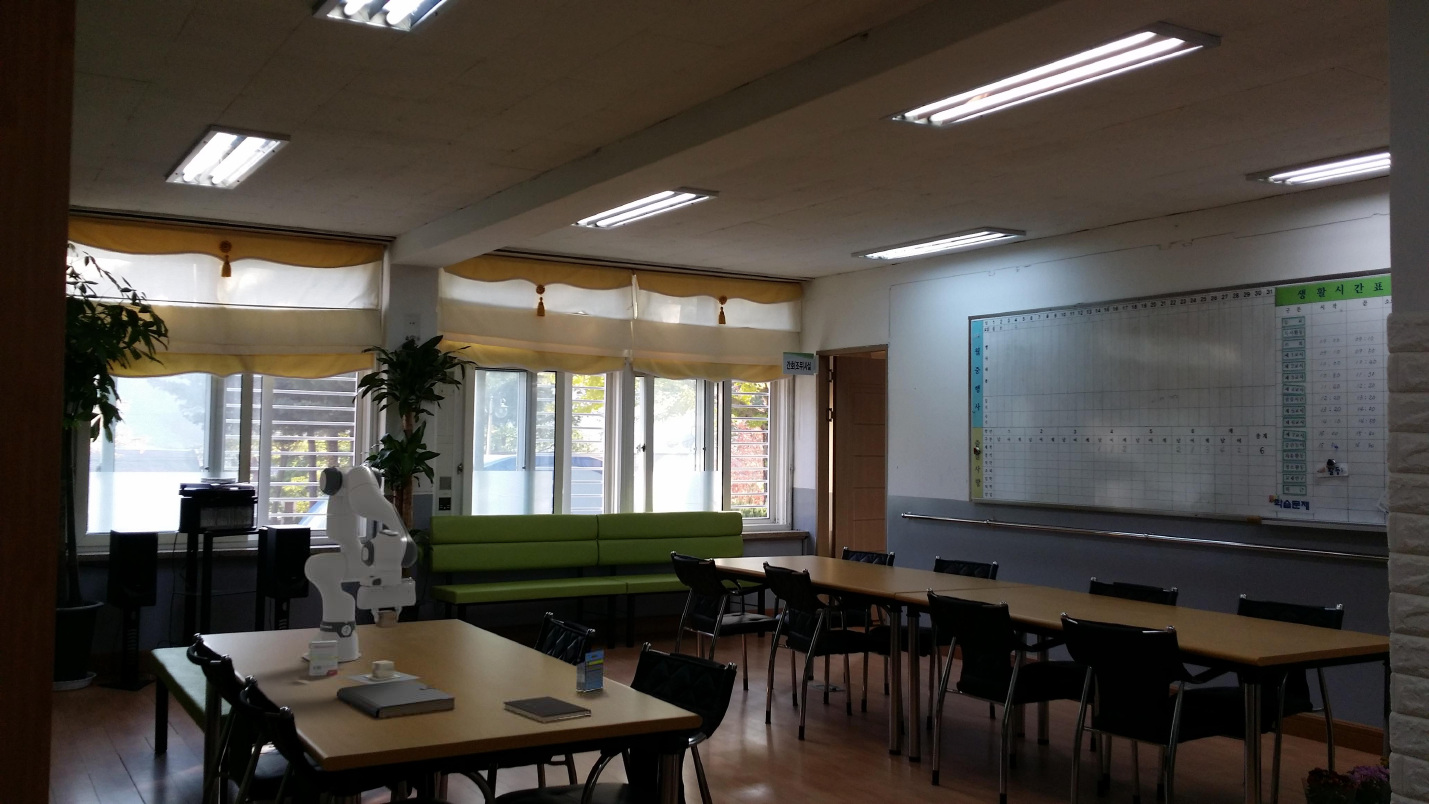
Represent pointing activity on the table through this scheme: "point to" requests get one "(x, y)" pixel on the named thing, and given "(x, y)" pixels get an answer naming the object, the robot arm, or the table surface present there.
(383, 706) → the large dark grey book
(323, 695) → the table surface
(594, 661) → the blue grey product box
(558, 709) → the hardcover book
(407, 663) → the table surface
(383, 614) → the walnut block
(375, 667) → the birch block
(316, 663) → the ink box
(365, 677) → the board
